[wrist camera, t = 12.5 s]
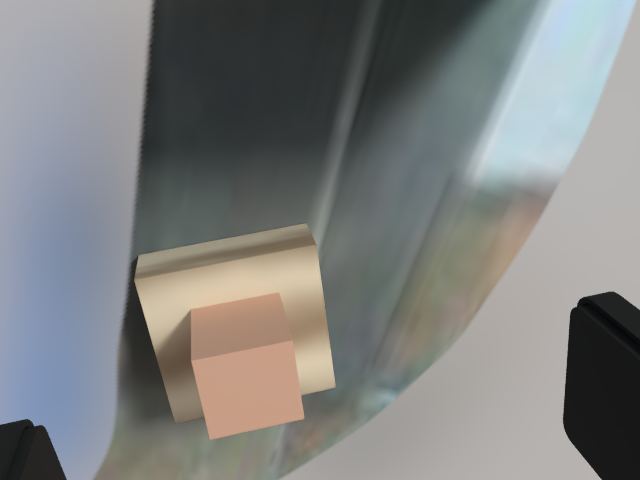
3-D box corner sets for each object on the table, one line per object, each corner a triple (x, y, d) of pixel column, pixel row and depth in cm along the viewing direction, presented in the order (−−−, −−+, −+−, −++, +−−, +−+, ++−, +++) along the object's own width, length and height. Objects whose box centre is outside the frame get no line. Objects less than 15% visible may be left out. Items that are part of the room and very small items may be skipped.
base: (138, 254, 39) (134, 279, 35) (306, 223, 40) (316, 244, 37) (176, 390, 43) (175, 423, 40) (325, 358, 45) (335, 387, 42)
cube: (190, 309, 37) (191, 360, 32) (279, 292, 38) (292, 340, 33) (207, 380, 39) (210, 439, 34) (290, 363, 40) (304, 418, 35)
